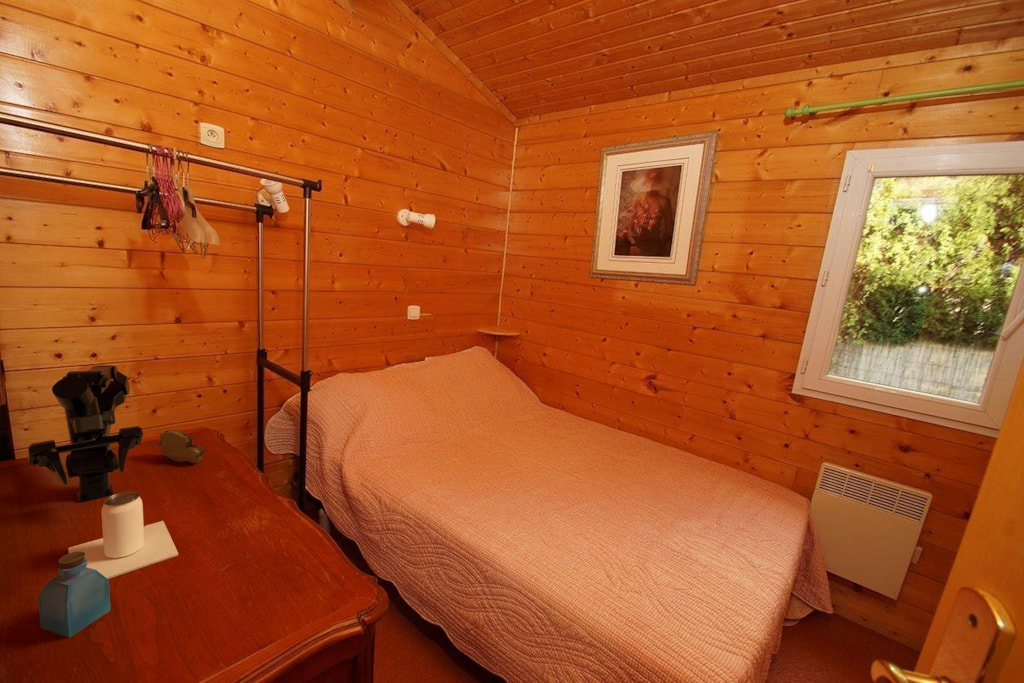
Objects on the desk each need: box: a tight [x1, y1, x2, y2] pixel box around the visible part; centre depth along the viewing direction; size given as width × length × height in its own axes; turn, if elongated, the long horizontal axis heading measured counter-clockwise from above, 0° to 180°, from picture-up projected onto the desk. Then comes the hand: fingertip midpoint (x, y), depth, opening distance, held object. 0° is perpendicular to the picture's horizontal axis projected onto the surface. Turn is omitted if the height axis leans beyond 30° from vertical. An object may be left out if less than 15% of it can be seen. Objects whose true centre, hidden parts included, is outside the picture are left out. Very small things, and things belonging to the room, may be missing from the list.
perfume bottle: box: [37, 551, 111, 639], centre depth 75 cm, size 6×6×12 cm
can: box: [101, 491, 145, 559], centre depth 92 cm, size 6×6×12 cm
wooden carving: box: [155, 429, 205, 464], centre depth 133 cm, size 16×5×10 cm, turn 80°
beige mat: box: [67, 520, 179, 580], centre depth 93 cm, size 16×16×1 cm
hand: (95, 477), depth 98 cm, fingers open, 9 cm apart
